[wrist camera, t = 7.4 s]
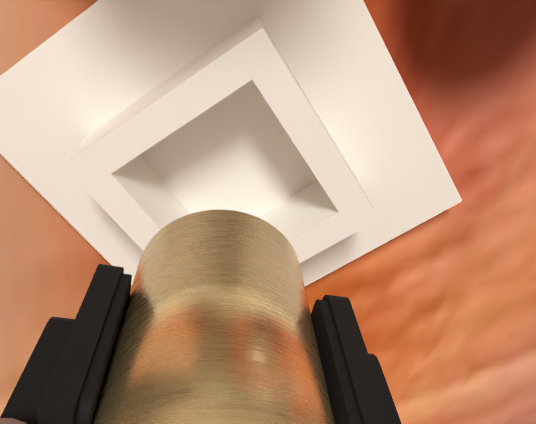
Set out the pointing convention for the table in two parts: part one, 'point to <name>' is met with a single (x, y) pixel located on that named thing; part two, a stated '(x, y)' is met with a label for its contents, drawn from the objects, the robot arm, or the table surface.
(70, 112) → the flange socket
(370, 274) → the table surface
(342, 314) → the robot arm
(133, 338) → the cylinder
